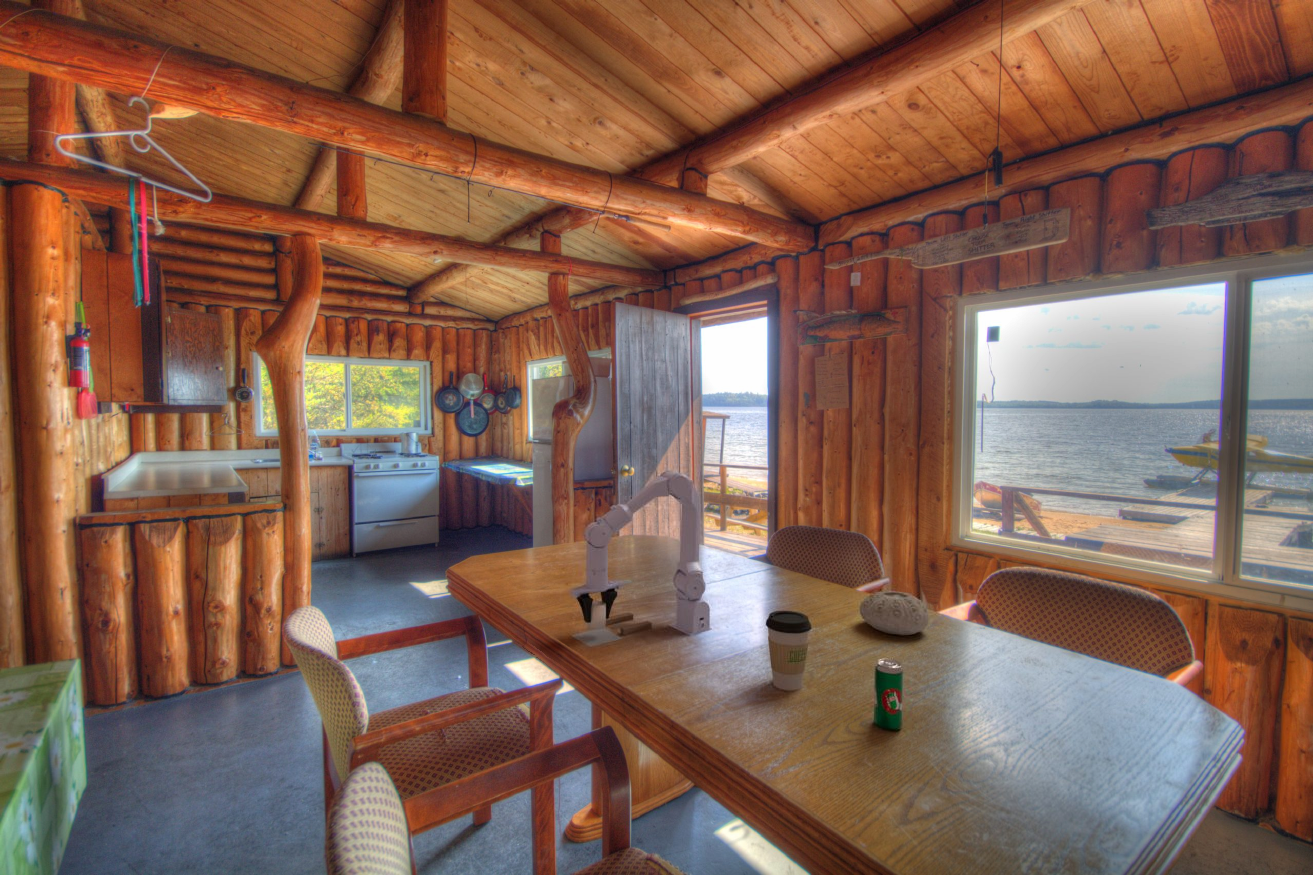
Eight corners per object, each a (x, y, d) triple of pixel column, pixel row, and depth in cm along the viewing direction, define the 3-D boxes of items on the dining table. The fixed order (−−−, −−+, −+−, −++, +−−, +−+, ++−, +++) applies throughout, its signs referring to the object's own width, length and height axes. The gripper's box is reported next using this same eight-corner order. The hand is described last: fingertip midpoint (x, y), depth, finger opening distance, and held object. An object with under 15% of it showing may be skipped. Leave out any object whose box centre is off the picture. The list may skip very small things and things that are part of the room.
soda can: (878, 715, 117) (880, 655, 117) (905, 724, 114) (906, 662, 113) (869, 725, 113) (870, 663, 113) (897, 734, 110) (898, 670, 109)
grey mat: (622, 639, 156) (622, 638, 156) (589, 648, 150) (589, 646, 150) (602, 629, 164) (602, 627, 164) (570, 636, 158) (570, 635, 158)
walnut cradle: (651, 630, 164) (651, 622, 164) (624, 637, 158) (624, 629, 158) (629, 619, 172) (629, 612, 172) (602, 625, 167) (602, 618, 167)
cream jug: (609, 627, 156) (609, 604, 156) (592, 631, 154) (592, 608, 153) (595, 619, 162) (596, 597, 162) (579, 622, 160) (579, 600, 159)
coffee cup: (815, 694, 126) (816, 624, 125) (768, 694, 126) (769, 624, 125) (804, 674, 135) (805, 609, 135) (761, 674, 136) (762, 609, 135)
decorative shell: (862, 637, 159) (863, 600, 159) (856, 616, 177) (857, 582, 176) (934, 643, 155) (935, 606, 155) (921, 621, 172) (922, 587, 172)
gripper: (612, 562, 164) (611, 610, 165) (565, 569, 155) (564, 620, 156) (626, 567, 158) (625, 617, 159) (578, 575, 150) (578, 628, 150)
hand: (596, 619), depth 157 cm, fingers closed on cream jug, 5 cm apart
